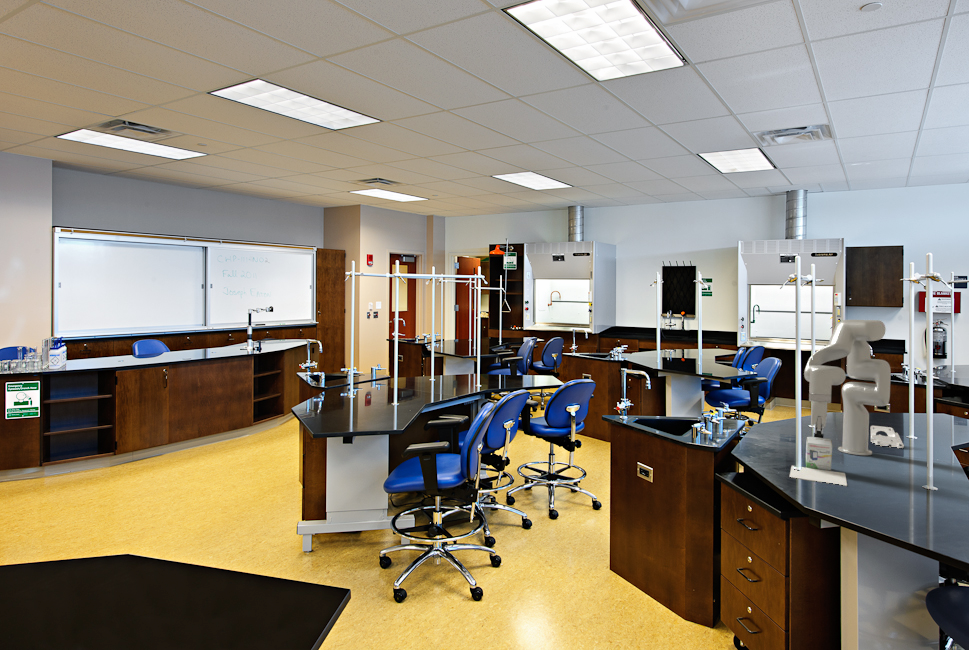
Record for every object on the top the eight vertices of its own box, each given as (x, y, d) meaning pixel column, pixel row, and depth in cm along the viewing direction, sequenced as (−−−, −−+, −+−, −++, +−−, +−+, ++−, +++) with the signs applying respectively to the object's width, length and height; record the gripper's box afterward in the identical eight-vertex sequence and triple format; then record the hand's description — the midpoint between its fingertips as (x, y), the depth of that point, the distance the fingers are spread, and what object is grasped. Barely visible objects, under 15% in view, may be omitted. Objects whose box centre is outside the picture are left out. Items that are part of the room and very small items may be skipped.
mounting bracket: (902, 451, 253) (901, 428, 257) (904, 448, 248) (903, 425, 252) (870, 447, 259) (870, 425, 263) (872, 444, 254) (872, 422, 258)
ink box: (830, 464, 215) (831, 438, 212) (831, 471, 211) (833, 445, 207) (805, 461, 219) (806, 435, 216) (805, 468, 215) (807, 442, 211)
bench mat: (791, 466, 217) (791, 465, 217) (845, 474, 208) (845, 473, 207) (789, 477, 202) (789, 476, 202) (847, 486, 192) (847, 485, 192)
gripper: (809, 395, 223) (808, 438, 224) (808, 399, 211) (807, 445, 211) (830, 396, 219) (829, 441, 220) (831, 401, 207) (829, 448, 207)
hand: (818, 443), depth 216 cm, fingers closed
